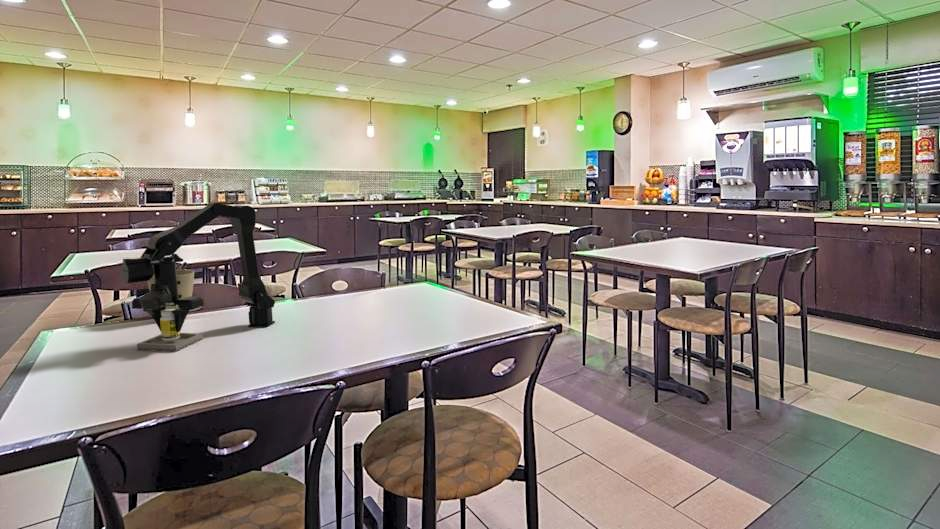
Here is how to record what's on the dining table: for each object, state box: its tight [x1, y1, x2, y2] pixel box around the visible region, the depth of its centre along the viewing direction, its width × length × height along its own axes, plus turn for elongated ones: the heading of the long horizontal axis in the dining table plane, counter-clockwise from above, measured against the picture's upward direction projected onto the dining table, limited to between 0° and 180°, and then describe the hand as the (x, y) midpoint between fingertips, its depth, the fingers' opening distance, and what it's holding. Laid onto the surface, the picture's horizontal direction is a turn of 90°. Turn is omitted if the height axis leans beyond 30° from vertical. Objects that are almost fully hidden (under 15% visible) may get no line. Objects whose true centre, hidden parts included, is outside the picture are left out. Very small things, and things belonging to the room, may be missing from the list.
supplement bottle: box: [160, 309, 181, 340], centre depth 155 cm, size 5×5×8 cm
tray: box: [136, 332, 204, 352], centre depth 156 cm, size 12×12×2 cm
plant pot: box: [146, 269, 195, 309], centre depth 187 cm, size 15×15×16 cm
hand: (170, 331), depth 155 cm, fingers closed on supplement bottle, 5 cm apart
